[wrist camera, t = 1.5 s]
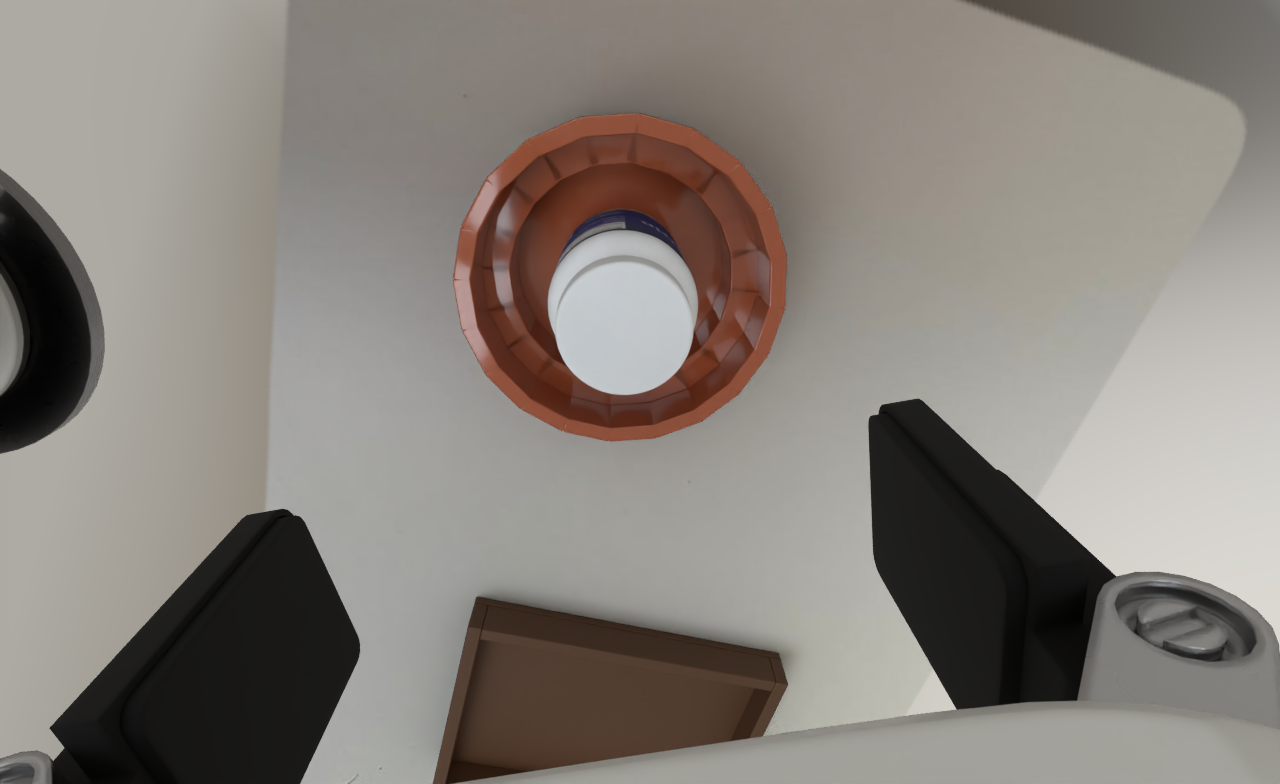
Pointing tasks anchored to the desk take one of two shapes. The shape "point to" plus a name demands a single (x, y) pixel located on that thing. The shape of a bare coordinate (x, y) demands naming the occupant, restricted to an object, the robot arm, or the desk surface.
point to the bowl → (564, 198)
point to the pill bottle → (622, 303)
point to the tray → (594, 693)
